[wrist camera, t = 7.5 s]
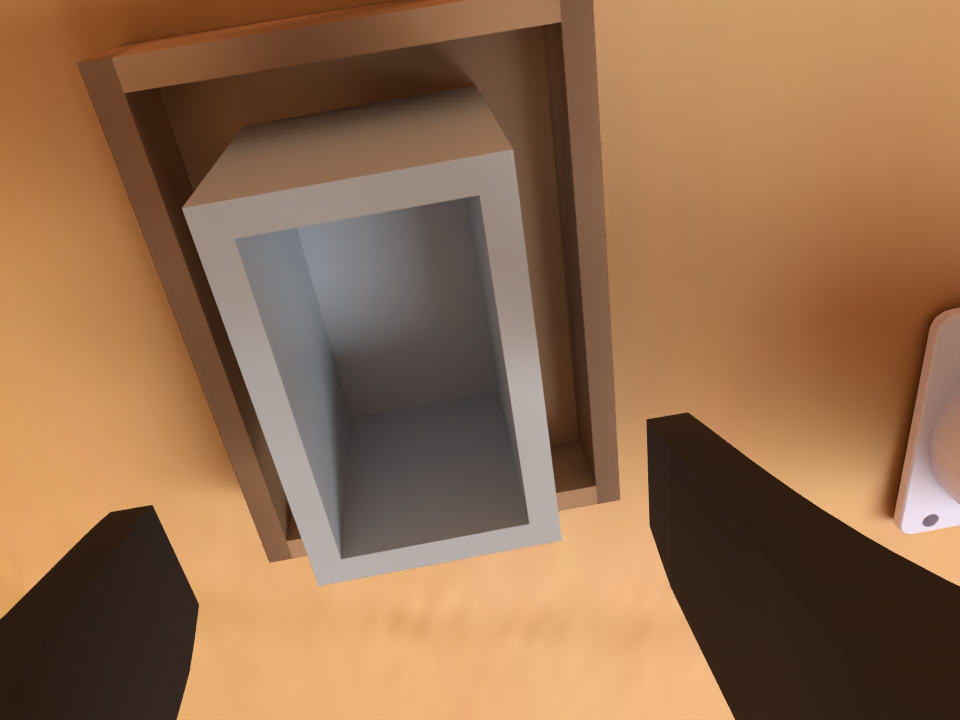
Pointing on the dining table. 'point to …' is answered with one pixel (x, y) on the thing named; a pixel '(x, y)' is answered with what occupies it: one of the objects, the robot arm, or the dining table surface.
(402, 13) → the walnut crate
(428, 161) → the small crate
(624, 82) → the dining table surface
